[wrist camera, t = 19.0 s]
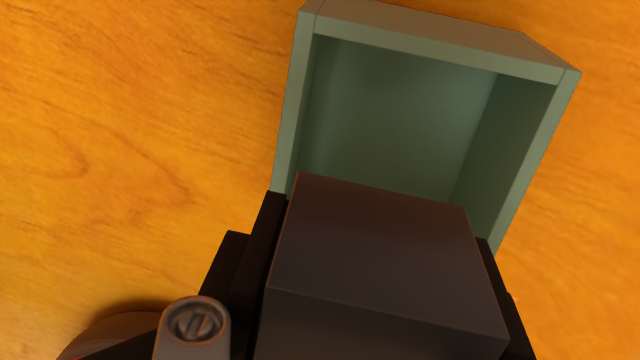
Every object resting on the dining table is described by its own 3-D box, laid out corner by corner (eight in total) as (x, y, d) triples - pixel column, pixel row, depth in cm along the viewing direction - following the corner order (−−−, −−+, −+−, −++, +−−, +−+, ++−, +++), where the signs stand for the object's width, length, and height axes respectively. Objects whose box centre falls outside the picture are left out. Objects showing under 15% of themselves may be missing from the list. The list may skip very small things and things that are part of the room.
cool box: (317, -13, 27) (298, 10, 20) (523, 32, 28) (584, 72, 20) (279, 204, 35) (254, 282, 27) (441, 238, 35) (461, 325, 27)
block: (298, 169, 12) (264, 285, 8) (464, 206, 12) (512, 339, 8) (272, 294, 14) (236, 434, 10) (413, 325, 14) (430, 475, 10)
